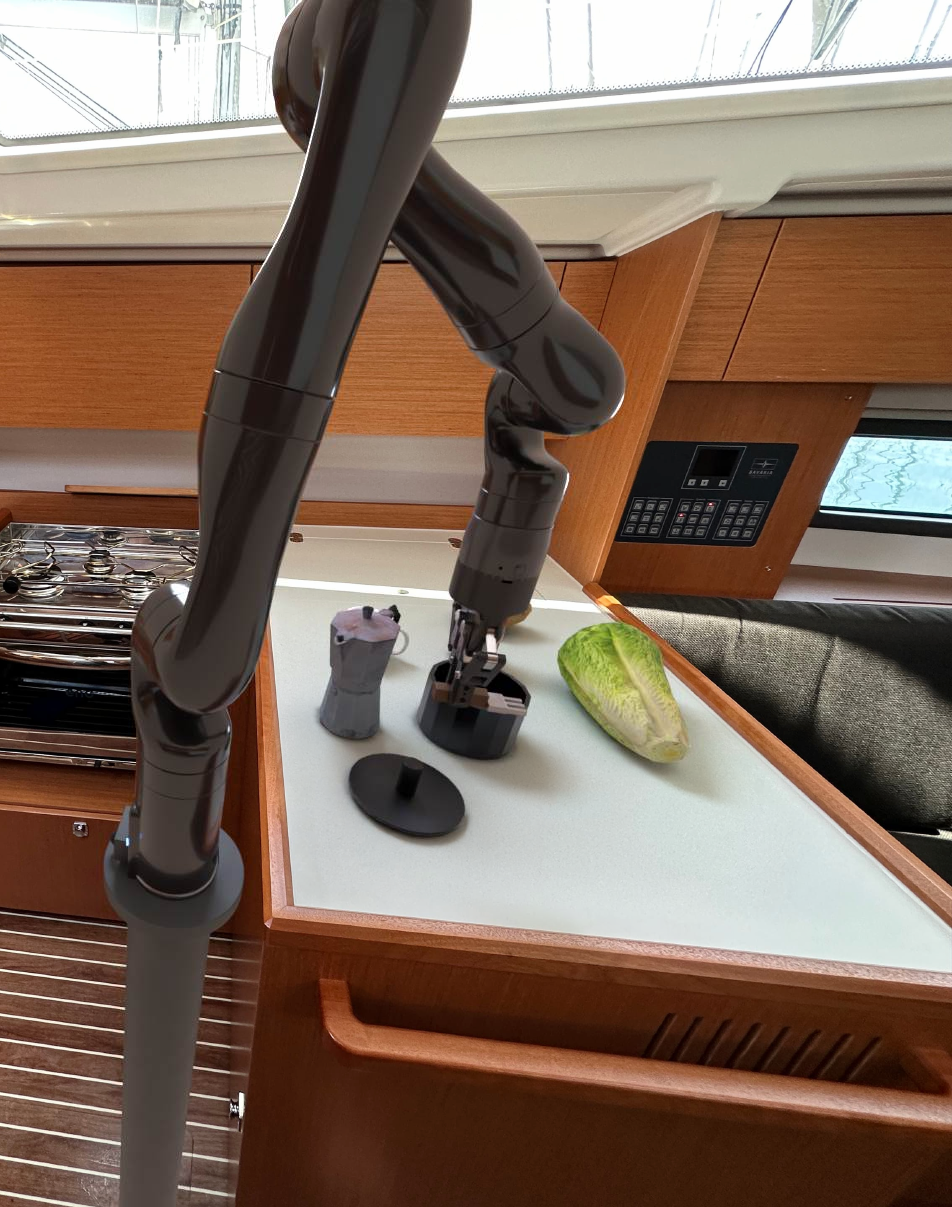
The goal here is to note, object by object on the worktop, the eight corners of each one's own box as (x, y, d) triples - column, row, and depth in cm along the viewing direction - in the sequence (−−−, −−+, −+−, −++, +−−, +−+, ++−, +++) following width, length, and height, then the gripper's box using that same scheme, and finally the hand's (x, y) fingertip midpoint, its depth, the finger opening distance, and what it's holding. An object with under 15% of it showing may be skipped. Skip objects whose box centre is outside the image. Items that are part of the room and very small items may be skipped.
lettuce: (702, 793, 86) (586, 781, 89) (631, 677, 105) (538, 670, 109) (750, 723, 78) (620, 712, 81) (664, 611, 97) (562, 606, 100)
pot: (424, 750, 88) (439, 702, 84) (410, 698, 99) (423, 654, 96) (524, 767, 86) (544, 718, 82) (498, 711, 97) (514, 666, 93)
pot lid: (351, 826, 75) (359, 792, 72) (344, 751, 87) (351, 719, 85) (474, 850, 72) (488, 815, 70) (450, 769, 85) (460, 737, 82)
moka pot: (292, 724, 92) (313, 607, 83) (347, 687, 102) (371, 578, 93) (348, 757, 86) (377, 635, 77) (401, 714, 96) (433, 600, 86)
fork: (434, 703, 69) (437, 692, 68) (430, 689, 71) (433, 678, 71) (526, 717, 67) (531, 705, 66) (519, 702, 69) (523, 690, 69)
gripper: (446, 533, 68) (412, 663, 76) (474, 583, 56) (430, 731, 64) (519, 540, 67) (476, 672, 75) (564, 593, 55) (507, 744, 63)
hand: (455, 699), depth 70 cm, fingers closed on fork, 1 cm apart
